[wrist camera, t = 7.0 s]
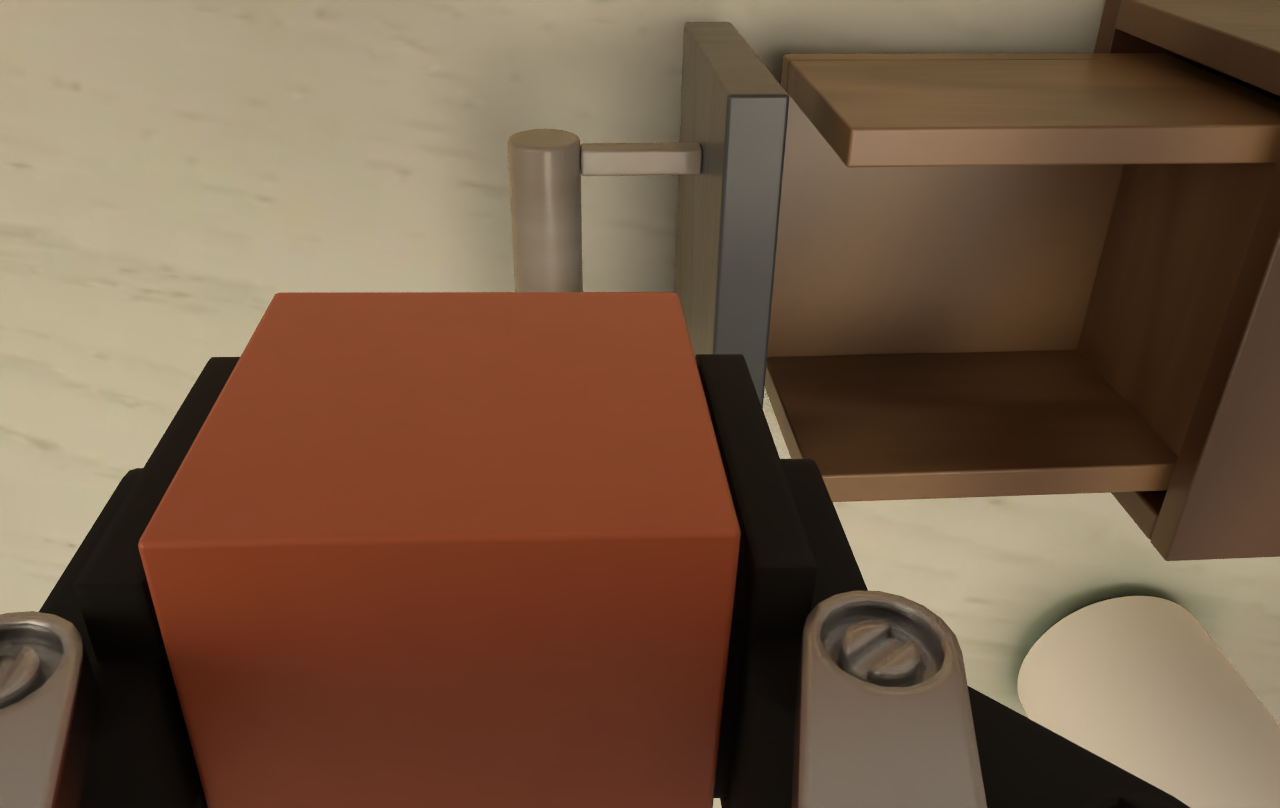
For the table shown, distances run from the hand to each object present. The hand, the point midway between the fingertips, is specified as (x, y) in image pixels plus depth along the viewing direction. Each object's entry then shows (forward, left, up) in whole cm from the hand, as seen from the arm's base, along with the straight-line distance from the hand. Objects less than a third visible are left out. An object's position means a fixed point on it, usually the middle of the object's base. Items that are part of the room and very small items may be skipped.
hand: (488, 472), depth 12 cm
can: (+21, +21, -18) cm, 35 cm away
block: (0, 0, 0) cm, 0 cm away
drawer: (+3, +8, -17) cm, 19 cm away
